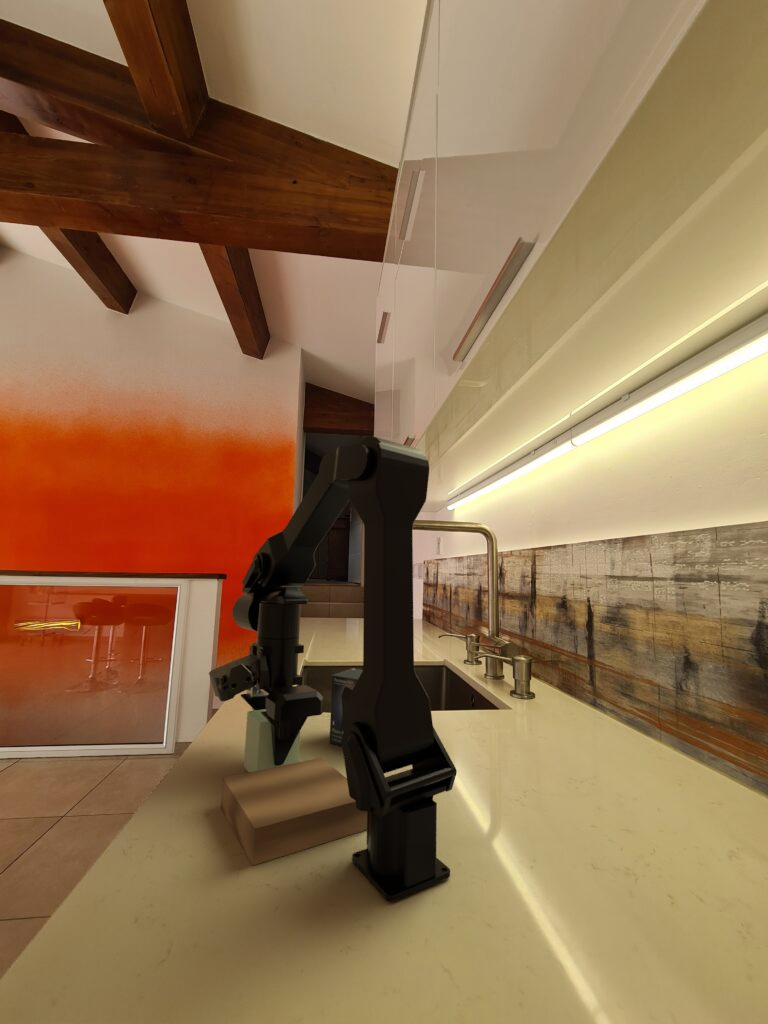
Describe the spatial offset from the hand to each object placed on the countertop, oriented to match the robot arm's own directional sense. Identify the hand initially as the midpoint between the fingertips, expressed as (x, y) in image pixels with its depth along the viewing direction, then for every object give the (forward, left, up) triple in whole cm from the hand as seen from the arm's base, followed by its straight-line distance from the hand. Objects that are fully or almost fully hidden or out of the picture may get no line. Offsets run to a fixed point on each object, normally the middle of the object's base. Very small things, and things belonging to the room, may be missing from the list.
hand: (271, 757), depth 60 cm
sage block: (0, 0, -2) cm, 2 cm away
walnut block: (-13, +2, -2) cm, 13 cm away
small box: (+2, -16, -2) cm, 16 cm away
